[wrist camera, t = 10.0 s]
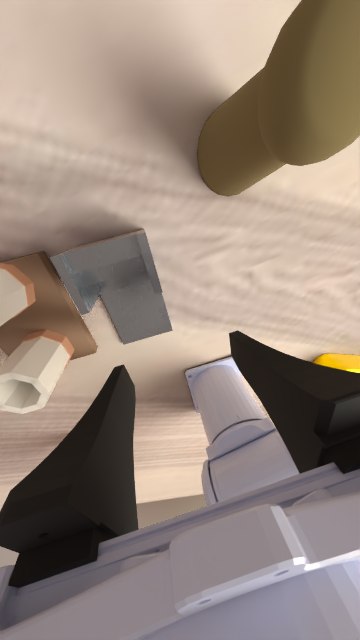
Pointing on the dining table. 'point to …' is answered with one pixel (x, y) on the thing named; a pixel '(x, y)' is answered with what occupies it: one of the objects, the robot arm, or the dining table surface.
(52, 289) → the pin board
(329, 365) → the element tile
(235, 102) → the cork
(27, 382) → the sleeve
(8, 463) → the dining table surface
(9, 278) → the sleeve
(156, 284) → the grey metal bracket
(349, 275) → the dining table surface
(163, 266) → the dining table surface
